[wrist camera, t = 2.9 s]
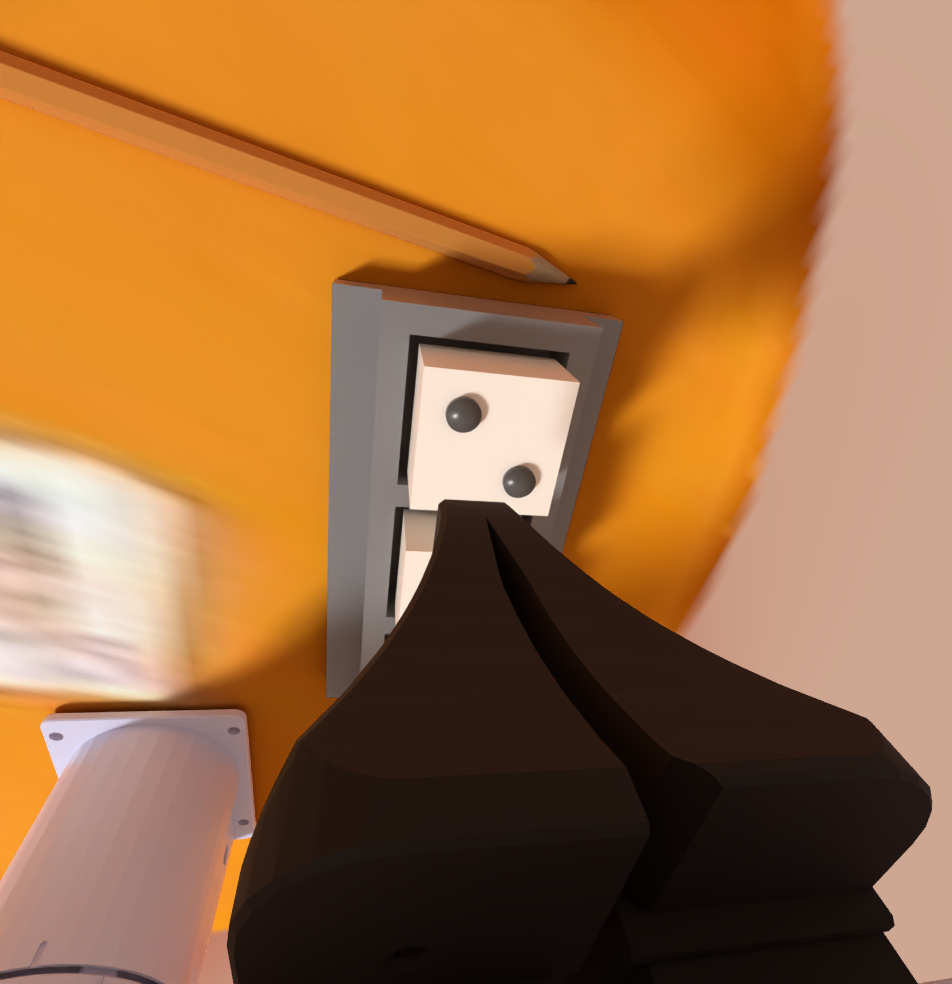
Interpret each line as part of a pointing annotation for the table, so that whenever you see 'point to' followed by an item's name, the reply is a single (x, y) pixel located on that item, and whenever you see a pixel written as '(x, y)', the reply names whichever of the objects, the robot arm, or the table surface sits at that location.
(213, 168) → the pencil
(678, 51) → the table surface
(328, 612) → the tile board
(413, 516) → the tile one
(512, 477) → the tile two
